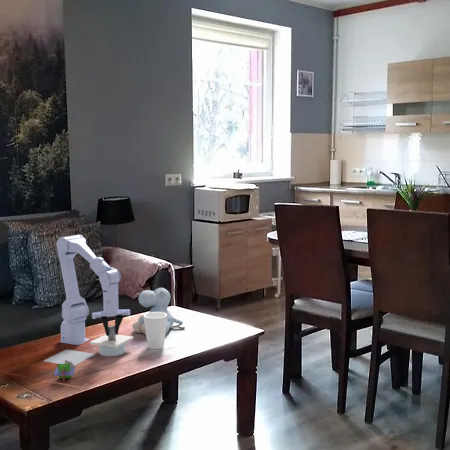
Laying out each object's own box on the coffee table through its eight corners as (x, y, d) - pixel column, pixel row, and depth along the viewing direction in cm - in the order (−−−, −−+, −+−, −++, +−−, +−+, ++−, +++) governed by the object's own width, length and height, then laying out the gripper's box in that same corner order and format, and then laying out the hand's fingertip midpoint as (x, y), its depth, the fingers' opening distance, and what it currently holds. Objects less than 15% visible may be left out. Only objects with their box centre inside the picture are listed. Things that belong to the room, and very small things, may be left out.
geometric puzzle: (72, 379, 203) (74, 356, 207) (51, 380, 203) (53, 357, 207) (75, 385, 210) (77, 362, 214) (55, 386, 209) (57, 363, 213)
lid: (90, 343, 233) (89, 329, 232) (108, 335, 243) (107, 321, 243) (116, 347, 228) (115, 332, 227) (133, 338, 239) (133, 324, 238)
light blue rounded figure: (131, 326, 271) (130, 286, 268) (182, 323, 275) (182, 283, 273) (133, 338, 253) (132, 296, 251) (187, 335, 257) (187, 293, 255)
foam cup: (163, 351, 238) (162, 318, 236) (141, 349, 240) (140, 317, 238) (170, 343, 247) (169, 312, 245) (148, 341, 249) (148, 311, 247)
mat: (42, 361, 226) (42, 360, 226) (66, 350, 239) (66, 349, 239) (73, 367, 221) (73, 366, 221) (96, 355, 233) (96, 354, 233)
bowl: (94, 354, 234) (93, 344, 233) (109, 346, 243) (108, 337, 242) (115, 358, 230) (115, 348, 229) (130, 350, 239) (130, 340, 238)
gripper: (93, 304, 227) (94, 339, 229) (131, 301, 232) (132, 335, 234) (90, 300, 234) (91, 334, 236) (127, 297, 239) (128, 330, 241)
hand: (111, 334), depth 235 cm, fingers closed on lid, 3 cm apart
